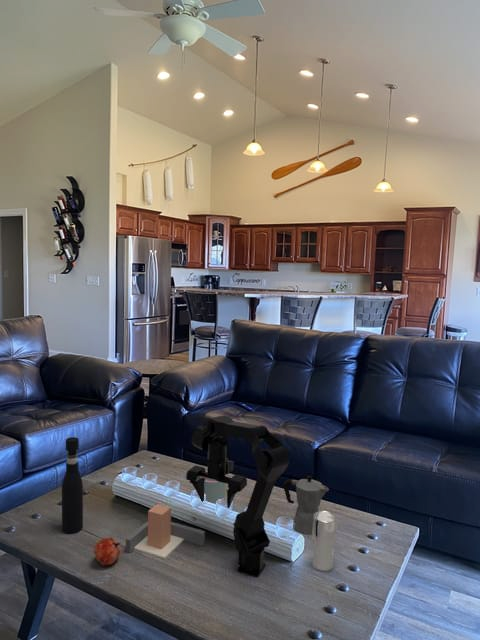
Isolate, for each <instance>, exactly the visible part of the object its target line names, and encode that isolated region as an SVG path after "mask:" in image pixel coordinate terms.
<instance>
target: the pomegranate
mask: <svg viewBox="0 0 480 640" xmlns="http://www.w3.org/2000/svg"><path fill="white" fill-rule="evenodd" d="M120 545H122V543H121V542H117V540H116V539H115V538H114V537H104V538H101V539H100V540H98V541H97V543H96V544H95V545H94V547H93V553H94V555H95V558H93V559H94V561H95V560H97V561H98V562H99V563H100V564H101V565H102V566H110V565H113V564H114V563H116V561H117V560H118V559H119V557H120V555H121V551H122V548H121V546H120Z"/></svg>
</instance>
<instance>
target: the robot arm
mask: <svg viewBox="0 0 480 640" xmlns="http://www.w3.org/2000/svg"><path fill="white" fill-rule="evenodd" d="M227 436H228V437H231V438H232V437H233V438H237V439H242V440H247V441H249V442H250V445H251V451H252V452H251V453H252V456H253V458H254V460H255V461H256V469H257V473H258V476H257V478H256V481H255V485H254V487H253V490H252V493H251V495H250V498H249V501H248V505H247V507H246V510H245V511H242V512H240V513H237V514H236V516H235V520H234V523H232V526H233V530H232V532H233V533H232V534H233V539H234V545H235V550H237V552H238V555H237V556H238V557H237V558H238V559H237V561H238V562H237V565H238V567H237V569H236V571H237V572H239V573H242V574H246V575H249V576H253V577H255V578H258V577H259V576H260V575H261V573H262V572H263V570H264V568H265V567H266V563H265V560H264V559H265V548H268V547H270V543H271V541H270V540H271V539H269V536H268V534H267V532H266V530H265V521H264V519H263V518H264V514H265V511H266V508H267V506H268V503H269V500H270V497H271V495H272V492H273V489H274V486H275V484H276V481H277V480H278V478H279V477H281V476H282V474H284V472H285V471H286V469H287V468H288V466H289V464H290V462H291V457H290V453H289V451H288V450H287V448H286V447H285V445H284V444H283V443H282V441H281V440H280V439H279V438H278V437H276V436H274V435H273V434H272V433H271V432H270V430H269V429H268V428H267V426H265V425H261V424H260V425H257V424H253V423H252V424H251V423H247V422H246V423H245V422H240V421H239V422H238V421H235V420H233V418H232V417H230V416H227V415H225V414H224V415H223V414H222V415H219V416H214V417H209V418H207V419H206V422H205V424H204V425H203V426H202V425H201V426H197V427H196V430H195V431H194V433H192V437H191V441H190V442H191V444H192V446H194V447H196V448H198V449H200V450H202V451H203V452H206V453H207V460H205V465H207V470H206V467H203V466H199V465H194V466H192V467H191V468H190V469H189V470H187V471H186V473H185V479H186V480H187V481H189V484H191V485H192V486H193V487H194V489H195V491H196V493H197V495H198V498H199V497H200V499H201V501H202V502H203V501H204V482H205V479H209V480H214V481H218V482H222V483H225V484H227V488H228V489H227V490H226V506H227V508H228V509H230V508H231V505H232V503H233V501H234V497H236V496H235V495H236V494H238V493H239V492H241V491H243V489H245V488H246V486H247V485H248V479H247V477H246V476H245V475H241V474H233V476H232V477H230V476H227V475H229V474H230V472H233V471H234V464H235V461H232V460H229V458H228V457H227V447H229V446H231V445H232V443H231V441H230V440H229V439H228V437H227ZM260 441H263V442H264V443H265V444H267V445H268V446H269V447H270V448H267V449H262V448H261V446H260Z"/></svg>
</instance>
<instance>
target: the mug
mask: <svg viewBox="0 0 480 640" xmlns="http://www.w3.org/2000/svg"><path fill="white" fill-rule="evenodd" d="M204 493H205V494H206V500H207V501H208V502H211V503H216V501H217V500H218V499H222V498H225V499H226V483H222V482H218V481H214V480H209V479H205V482H204Z"/></svg>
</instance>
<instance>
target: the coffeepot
mask: <svg viewBox="0 0 480 640" xmlns="http://www.w3.org/2000/svg"><path fill="white" fill-rule="evenodd" d="M289 486H292V487H295V492H296V502H297V507H296V510H295V511H296V512H295V516H294V519H293V523H295V528H294V530H295V531H296V532H298V531H299V532H298V533H300V534H304V535H312V526H313V518H314V514H315V513H316V512H318V511H319V506H321V500H322V499H323V497H324V495H325V494H326V493H327V492H330V491H329V490H330V489H329V487H327V486H325V485H324V484H323V483H322V482H320V481H318V480H315V479H313V477H312V475H307V476H306V478H301V479H299V480H296V479H289V478H288V479H286V480H285V481H284V482H283V484H282V487H283V490H284V494H285V499H286V501H287V503H289V504H292V505H293V504H294V503H295V501H294V500H292V499H291V494H290V493H291V492H290V488H289Z"/></svg>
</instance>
